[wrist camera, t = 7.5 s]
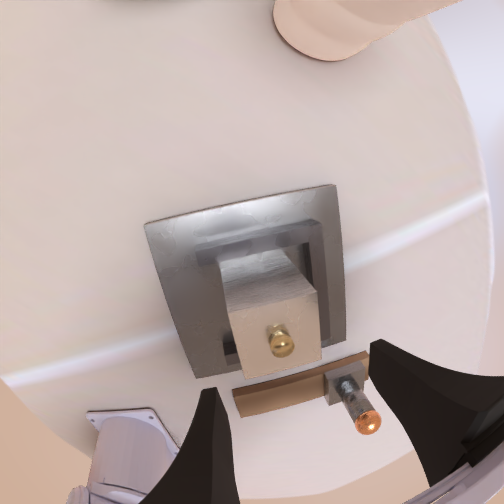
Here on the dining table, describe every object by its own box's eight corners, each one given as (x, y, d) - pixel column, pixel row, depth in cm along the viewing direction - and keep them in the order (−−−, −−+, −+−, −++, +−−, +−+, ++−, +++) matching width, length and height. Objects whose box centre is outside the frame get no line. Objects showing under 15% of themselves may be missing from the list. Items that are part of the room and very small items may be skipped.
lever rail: (364, 373, 26) (368, 379, 25) (239, 410, 25) (241, 417, 24) (365, 350, 25) (370, 356, 24) (232, 389, 24) (233, 397, 23)
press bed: (342, 335, 24) (353, 349, 22) (196, 372, 22) (196, 391, 20) (331, 184, 19) (346, 187, 17) (146, 223, 18) (138, 231, 16)
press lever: (358, 385, 25) (389, 433, 18) (324, 397, 24) (351, 450, 18) (359, 359, 24) (396, 409, 17) (323, 372, 23) (355, 428, 17)
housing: (293, 310, 21) (326, 367, 15) (234, 324, 21) (247, 389, 14) (285, 254, 20) (323, 299, 13) (220, 269, 19) (229, 322, 13)
